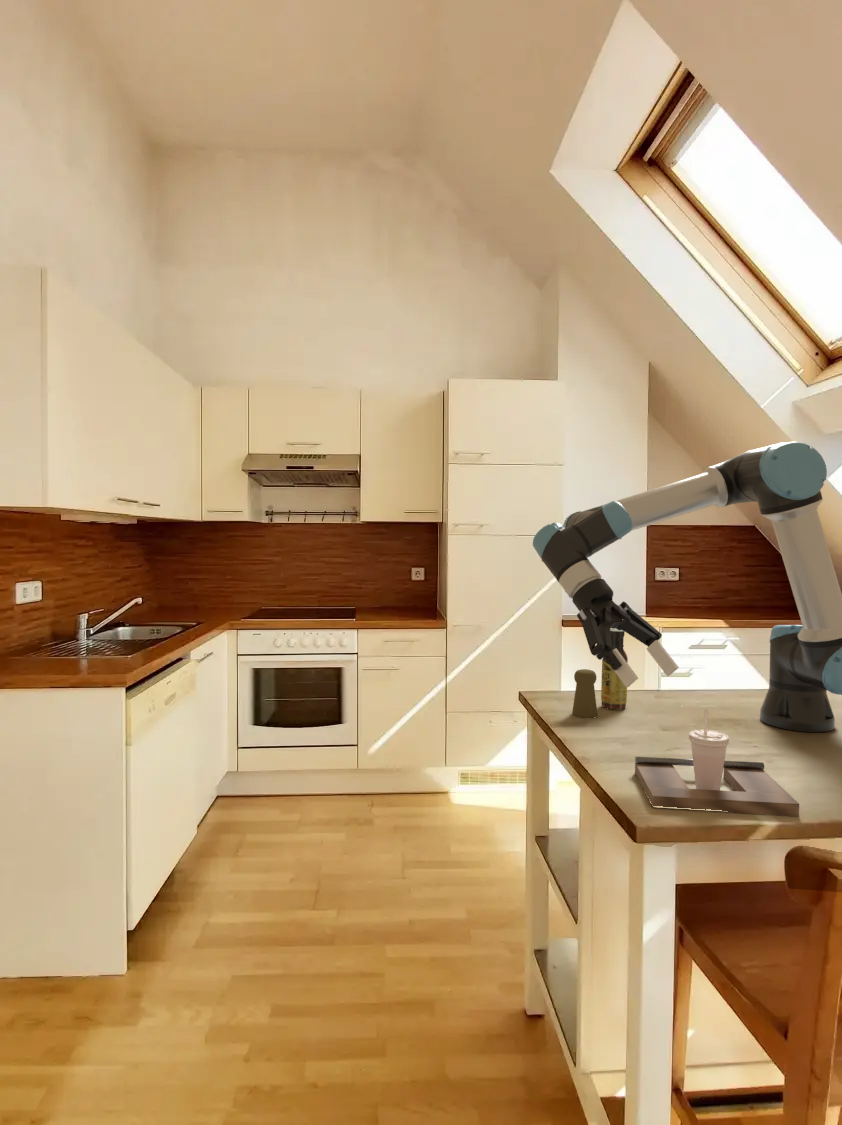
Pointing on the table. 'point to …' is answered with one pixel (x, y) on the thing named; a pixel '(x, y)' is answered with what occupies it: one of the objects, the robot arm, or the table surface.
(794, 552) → the robot arm
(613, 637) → the sauce bottle
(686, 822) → the table surface
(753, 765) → the hook bar
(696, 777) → the smoothie
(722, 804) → the slot board
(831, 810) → the table surface
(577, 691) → the cork
